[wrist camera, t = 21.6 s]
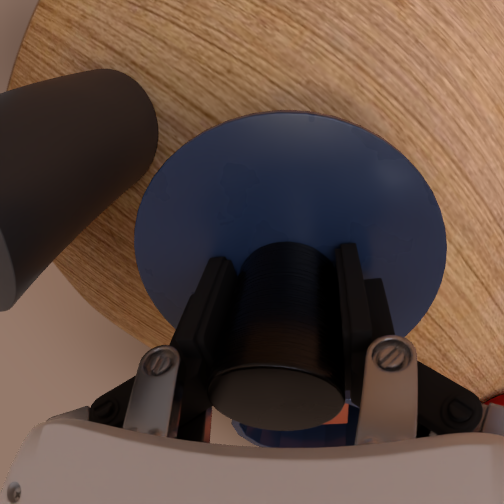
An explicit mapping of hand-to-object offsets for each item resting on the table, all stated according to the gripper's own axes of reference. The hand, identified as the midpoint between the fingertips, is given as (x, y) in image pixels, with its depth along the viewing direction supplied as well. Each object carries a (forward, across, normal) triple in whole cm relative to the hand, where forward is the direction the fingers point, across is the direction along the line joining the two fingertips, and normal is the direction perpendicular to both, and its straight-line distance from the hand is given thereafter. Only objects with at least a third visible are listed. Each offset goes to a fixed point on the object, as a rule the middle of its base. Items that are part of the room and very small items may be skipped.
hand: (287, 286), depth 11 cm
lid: (+1, 0, 0) cm, 1 cm away
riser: (+10, +12, -6) cm, 17 cm away
